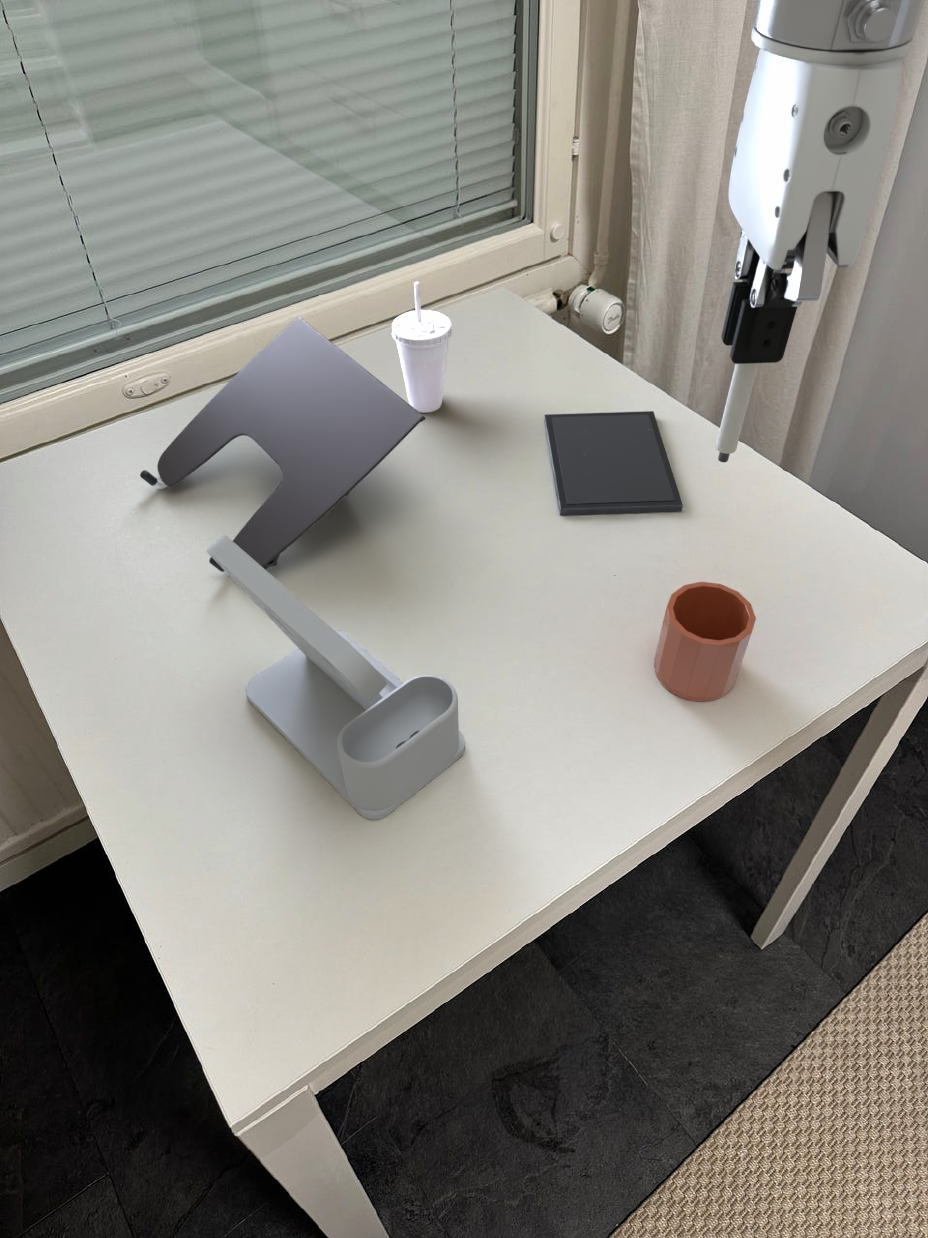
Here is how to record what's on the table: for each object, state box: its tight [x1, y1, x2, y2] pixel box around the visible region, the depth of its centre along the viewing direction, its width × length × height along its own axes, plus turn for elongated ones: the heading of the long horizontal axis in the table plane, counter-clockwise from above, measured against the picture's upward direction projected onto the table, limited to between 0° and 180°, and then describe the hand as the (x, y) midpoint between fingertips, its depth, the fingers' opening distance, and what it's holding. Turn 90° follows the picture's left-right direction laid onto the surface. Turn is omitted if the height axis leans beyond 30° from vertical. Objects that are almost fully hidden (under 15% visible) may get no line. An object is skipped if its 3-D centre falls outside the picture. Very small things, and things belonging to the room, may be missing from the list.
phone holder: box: [206, 533, 466, 821], centre depth 64 cm, size 17×10×18 cm, turn 43°
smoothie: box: [391, 281, 453, 414], centre depth 95 cm, size 6×6×14 cm
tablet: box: [543, 410, 684, 516], centre depth 92 cm, size 12×16×1 cm
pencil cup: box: [654, 581, 757, 702], centre depth 71 cm, size 7×7×7 cm
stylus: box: [715, 269, 784, 463], centre depth 57 cm, size 1×1×14 cm
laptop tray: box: [139, 316, 426, 575], centre depth 88 cm, size 23×23×9 cm
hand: (750, 349), depth 56 cm, fingers closed on stylus, 1 cm apart
